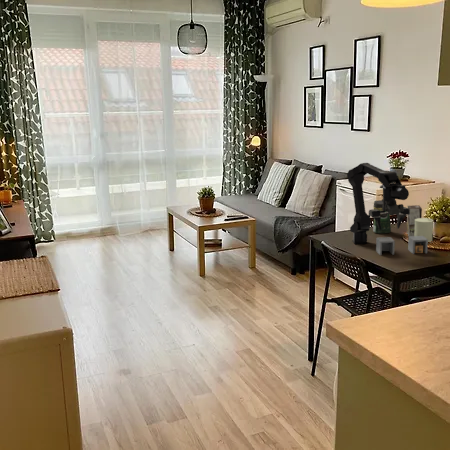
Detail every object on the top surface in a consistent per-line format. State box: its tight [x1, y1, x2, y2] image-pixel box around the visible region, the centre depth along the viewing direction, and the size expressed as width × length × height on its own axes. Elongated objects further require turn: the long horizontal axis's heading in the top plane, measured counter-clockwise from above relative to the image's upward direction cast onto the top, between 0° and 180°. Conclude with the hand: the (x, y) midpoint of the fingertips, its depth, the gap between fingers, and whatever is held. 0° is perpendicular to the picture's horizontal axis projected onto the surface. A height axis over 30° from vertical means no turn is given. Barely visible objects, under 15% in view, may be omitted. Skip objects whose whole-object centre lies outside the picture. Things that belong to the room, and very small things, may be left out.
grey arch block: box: [407, 236, 429, 255], centre depth 253 cm, size 7×7×7 cm
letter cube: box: [414, 244, 424, 254], centre depth 253 cm, size 4×4×4 cm
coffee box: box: [406, 204, 423, 237], centre depth 281 cm, size 9×6×16 cm
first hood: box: [375, 236, 396, 256], centre depth 254 cm, size 7×7×7 cm
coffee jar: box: [372, 199, 392, 234], centre depth 290 cm, size 10×8×19 cm
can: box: [414, 217, 434, 243], centre depth 270 cm, size 9×9×12 cm
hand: (389, 229), depth 252 cm, fingers open, 9 cm apart
